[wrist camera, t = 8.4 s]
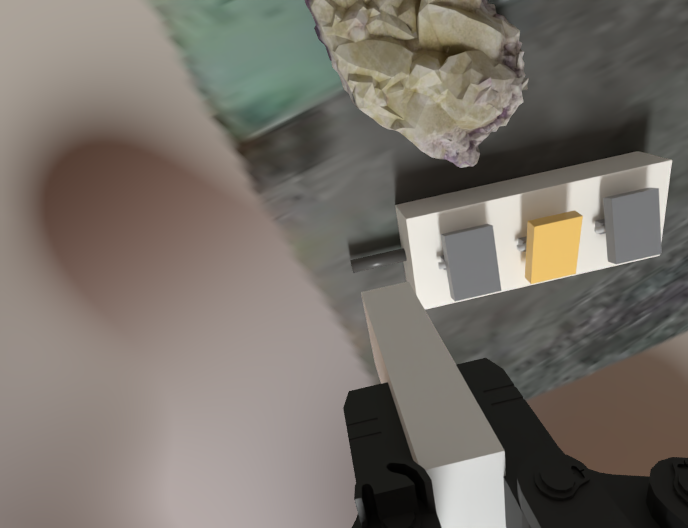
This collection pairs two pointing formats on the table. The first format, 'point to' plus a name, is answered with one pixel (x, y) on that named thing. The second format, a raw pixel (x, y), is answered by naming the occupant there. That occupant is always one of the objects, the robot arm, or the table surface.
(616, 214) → the block
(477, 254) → the block
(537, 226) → the amber rocker
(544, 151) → the table surface
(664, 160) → the white rocker switch box
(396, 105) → the geode
